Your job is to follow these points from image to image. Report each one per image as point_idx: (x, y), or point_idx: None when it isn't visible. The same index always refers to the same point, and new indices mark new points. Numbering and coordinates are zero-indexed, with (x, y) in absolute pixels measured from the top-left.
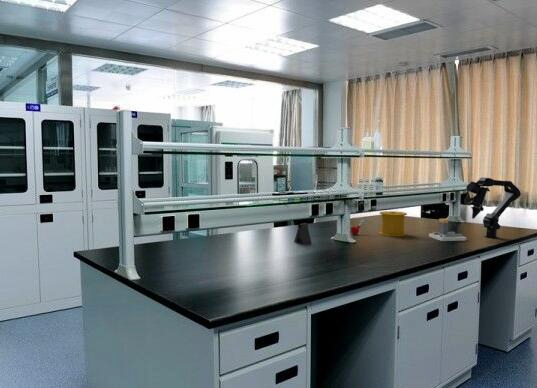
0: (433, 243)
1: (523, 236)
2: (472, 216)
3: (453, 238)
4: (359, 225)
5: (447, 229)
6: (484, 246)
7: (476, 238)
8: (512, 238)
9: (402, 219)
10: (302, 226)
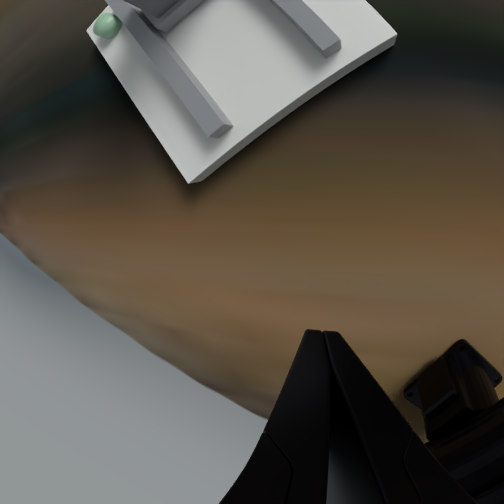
0: (38, 38)
1: None
2: (293, 361)
3: (127, 87)
4: None
5: (130, 3)
6: (74, 290)
7: (366, 271)
8: None
9: None
10: None
